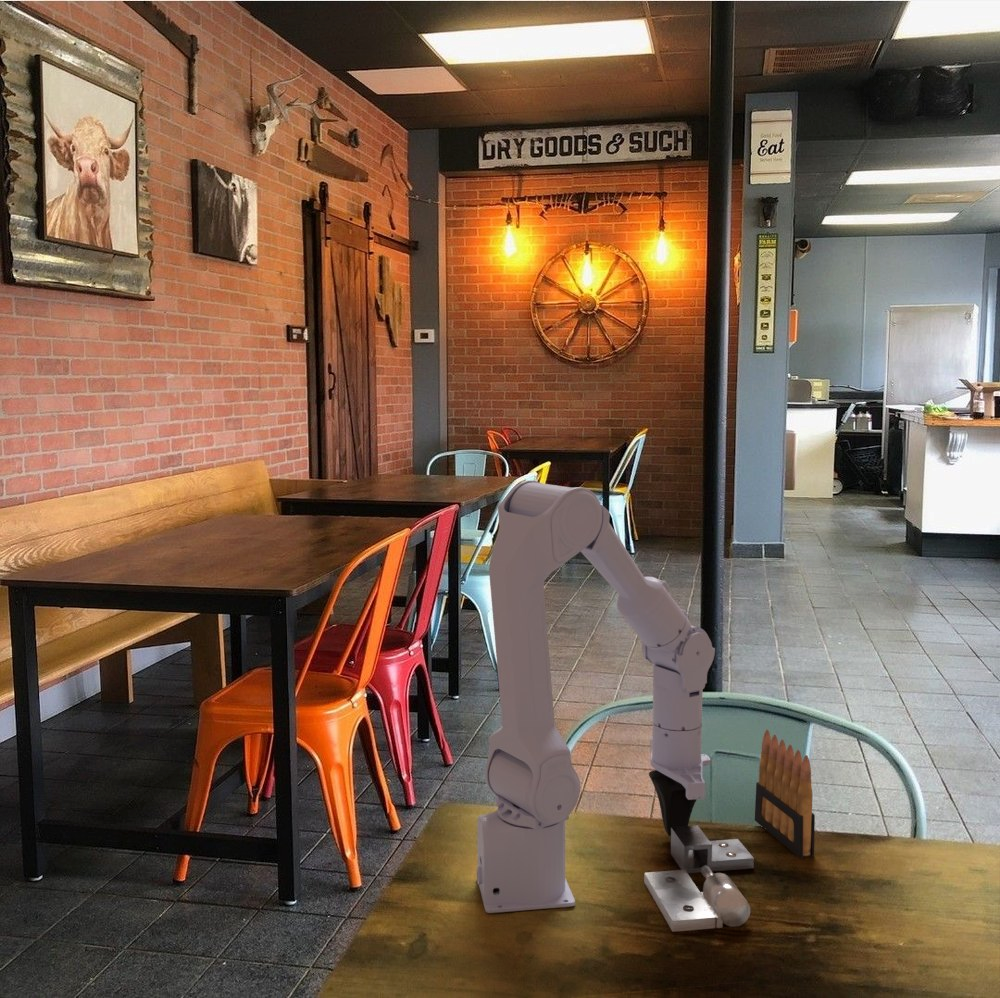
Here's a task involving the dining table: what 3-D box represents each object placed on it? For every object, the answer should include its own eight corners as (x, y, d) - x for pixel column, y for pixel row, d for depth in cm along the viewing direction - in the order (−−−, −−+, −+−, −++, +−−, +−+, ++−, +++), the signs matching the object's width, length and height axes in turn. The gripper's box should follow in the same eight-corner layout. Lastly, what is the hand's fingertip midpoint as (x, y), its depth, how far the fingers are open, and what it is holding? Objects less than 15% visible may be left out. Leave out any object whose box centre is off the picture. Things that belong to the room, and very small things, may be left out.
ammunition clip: (814, 857, 118) (818, 757, 116) (800, 859, 117) (803, 759, 116) (767, 818, 128) (770, 726, 126) (754, 820, 127) (756, 727, 126)
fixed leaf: (672, 932, 102) (673, 901, 102) (644, 883, 112) (644, 855, 111) (750, 925, 103) (750, 895, 103) (715, 877, 113) (715, 850, 113)
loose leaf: (683, 873, 114) (684, 846, 113) (670, 853, 118) (671, 827, 118) (753, 868, 115) (754, 841, 114) (737, 848, 120) (738, 822, 119)
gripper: (732, 742, 113) (729, 859, 115) (689, 701, 128) (687, 805, 129) (671, 746, 112) (669, 863, 114) (634, 704, 127) (633, 809, 128)
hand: (675, 833), depth 122 cm, fingers closed
